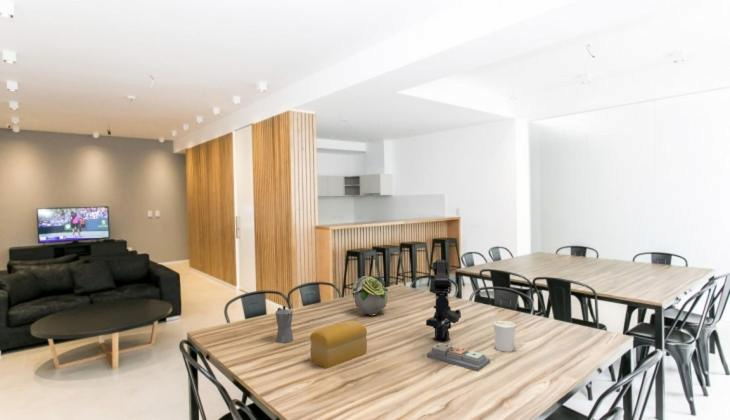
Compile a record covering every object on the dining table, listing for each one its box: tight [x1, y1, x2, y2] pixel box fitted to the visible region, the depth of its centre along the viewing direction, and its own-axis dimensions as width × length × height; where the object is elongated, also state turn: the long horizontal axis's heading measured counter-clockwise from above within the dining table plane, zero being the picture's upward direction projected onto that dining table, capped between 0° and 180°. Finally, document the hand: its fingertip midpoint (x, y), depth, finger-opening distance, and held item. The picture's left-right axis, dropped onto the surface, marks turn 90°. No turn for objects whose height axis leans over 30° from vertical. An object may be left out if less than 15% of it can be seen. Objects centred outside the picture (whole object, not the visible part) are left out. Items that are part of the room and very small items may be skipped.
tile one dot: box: [465, 350, 485, 360], centre depth 173 cm, size 6×6×3 cm
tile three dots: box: [449, 346, 468, 356], centre depth 179 cm, size 6×6×3 cm
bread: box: [309, 320, 368, 369], centre depth 183 cm, size 24×13×15 cm, turn 134°
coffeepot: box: [275, 305, 294, 344], centre depth 208 cm, size 15×9×18 cm, turn 33°
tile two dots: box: [432, 342, 452, 351], centre depth 184 cm, size 6×6×3 cm
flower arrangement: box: [350, 275, 389, 316], centre depth 253 cm, size 25×25×24 cm
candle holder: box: [493, 320, 516, 353], centre depth 191 cm, size 10×10×12 cm
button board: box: [426, 346, 491, 372], centre depth 179 cm, size 25×12×4 cm, turn 49°
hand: (442, 337), depth 184 cm, fingers closed
